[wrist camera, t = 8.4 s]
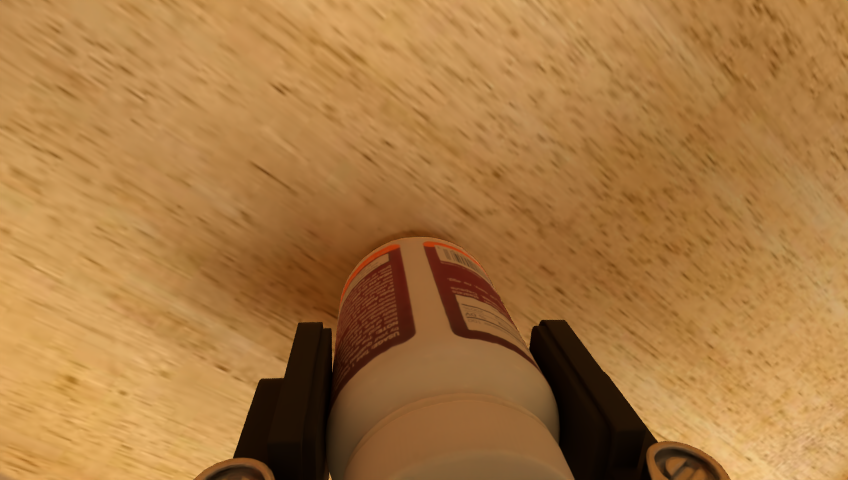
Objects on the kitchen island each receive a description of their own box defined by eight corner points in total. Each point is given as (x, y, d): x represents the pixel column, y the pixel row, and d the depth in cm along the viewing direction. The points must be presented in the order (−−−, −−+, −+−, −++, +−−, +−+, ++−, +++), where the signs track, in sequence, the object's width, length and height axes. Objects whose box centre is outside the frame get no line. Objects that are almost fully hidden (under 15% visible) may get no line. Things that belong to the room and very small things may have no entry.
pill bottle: (355, 381, 16) (343, 683, 8) (325, 246, 15) (275, 467, 7) (499, 356, 17) (615, 627, 9) (485, 220, 15) (616, 404, 7)
